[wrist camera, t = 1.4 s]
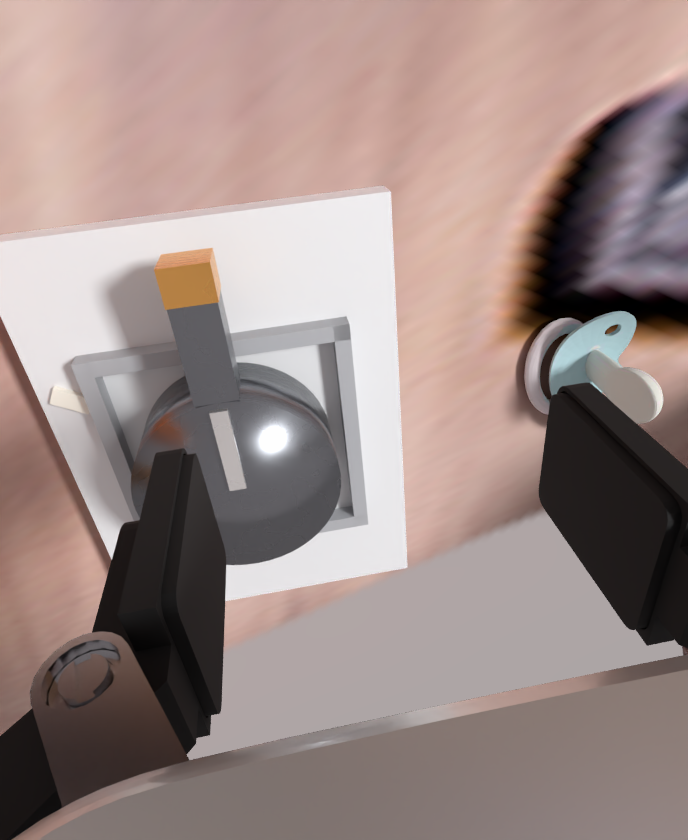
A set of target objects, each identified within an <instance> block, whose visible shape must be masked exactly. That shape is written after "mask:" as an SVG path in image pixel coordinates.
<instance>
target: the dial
mask: <svg viewBox="0 0 688 840" xmlns="http://www.w3.org/2000/svg"><path fill="white" fill-rule="evenodd" d="M154 272H155V276H156V279H157V283H158V286H159V290H160V294H161V297H162V301H163V304H164V308H165V310H167V313H168V316H169V320H170V323H171V327H172V330H173V334H174V337H175V341H176V344H177V348H178V352H179V355H180V359H181V362H182V366H183V369H184V373H185V376H183V377H182V378H180V379H179V380H177V381H176V382H174V383H173V384H172V385H171V386H169V387H168V388H167V389H166V390H165V391H164V392H163V393H162V394H161V396H160V397H159V398H158V399H157V400H156V402H155V404H154V405H153V407H152V409H151V411H150V413H149V415H148V418H147V421H146V424H145V428H144V431H143V435H142V438H141V442H140V445H139V449H138V452H137V456H136V459H135V462H134V466H133V470H132V475H131V495H132V500H133V504H134V507H135V510H136V512H137V514H138V516H139V518H140V516H141V512H142V507H143V503H144V499H145V495H146V490H147V486H148V482H149V478H150V473H151V469H152V465H153V460H154V456H155V454H156V453H157V452H163V451H169V450H175V449H181V448H184V449H185V450H186V451H187V454H194V453H195V454H196V455H197V457H198V459H199V463H200V466H201V470H202V473H203V476H204V480H205V483H206V487H207V490H208V493H209V497H210V500H211V503H212V507H213V510H214V514H215V517H216V520H217V524H218V527H219V531H220V534H221V537H222V541H223V544H224V548H225V553H226V565H247V564H255V563H260V562H265V561H269V560H272V559H275V558H278V557H281V556H284V555H286V554H288V553H290V552H293V551H294V550H296V549H298V548H300V547H301V546H303V545H304V544H306V543H307V542H308V541H310V540H311V539H312V538H313V537H315V536H316V535H317V534H318V533H319V532H320V531H321V530H322V528H323V527H324V526H325V525H326V524H327V522H328V521H329V519H330V518H331V516H332V515H333V513H334V510H335V508H336V506H337V503H338V500H339V496H340V490H341V473H340V468H339V463H338V459H337V455H336V451H335V447H334V442H333V438H332V434H331V430H330V426H329V422H328V419H327V416H326V413H325V411H324V409H323V407H322V406H321V404H320V402H319V401H318V399H317V398H316V397H315V396H314V394H313V393H312V392H311V391H310V390H309V389H308V388H307V387H306V386H305V385H303V384H302V383H301V382H299V381H298V380H297V379H295V378H293V377H292V376H290V375H288V374H286V373H284V372H282V371H279V370H277V369H274V368H272V367H268V366H264V365H260V364H254V363H244V362H237V361H236V357H235V352H234V348H233V343H232V339H231V334H230V330H229V325H228V321H227V316H226V312H225V307H224V303H223V298H222V294H221V283H220V279H219V274H218V269H217V265H216V260H215V256H214V251H213V248H206V249H198V250H191V251H183V252H176V253H168V254H161V255H160V258H159V260H158V262H157V264H156V266H155V268H154Z"/></svg>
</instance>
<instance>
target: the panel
mask: <svg viewBox="0 0 688 840" xmlns="http://www.w3.org/2000/svg"><path fill="white" fill-rule="evenodd" d="M206 248H213V251H214V256H215V260H216V265H217V269H218V274H219V279H220V283H221V294H222V298H223V303H224V307H225V312H226V316H227V321H228V325H229V330H230V334H231V339H232V343H233V348H234V352H235V357H236V361H237V362H244V363H254V364H260V365H264V366H268V367H272V368H274V369H277V370H279V371H282V372H284V373H286V374H288V375H290V376H292V377H293V378H295V379H297V380H298V381H299V382H301V383H302V384H303V385H305V386H306V387H307V388H308V389H309V390H310V391H311V392H312V393H313V394H314V396H315V397H316V398H317V399H318V401H319V402H320V404H321V406H322V407H323V409H324V411H325V413H326V416H327V419H328V422H329V426H330V430H331V434H332V438H333V442H334V447H335V451H336V455H337V459H338V463H339V468H340V473H341V490H340V496H339V500H338V503H337V506H336V508H335V510H334V513H333V515H332V516H331V518H330V519H329V521H328V522H327V524H326V525H325V526H324V527H323V528H322V530H321V531H320V532H319V533H318V534H317V535H316V536H315V537H313V538H312V539H311V540H310V541H308V542H307V543H306V544H304V545H303V546H301V547H300V548H298V549H296V550H294V551H293V552H290V553H288V554H286V555H284V556H281V557H278V558H275V559H272V560H269V561H265V562H260V563H255V564H247V565H226V589H225V601H229V600H234V599H240V598H245V597H251V596H256V595H262V594H267V593H273V592H278V591H283V590H289V589H294V588H300V587H305V586H311V585H316V584H322V583H327V582H332V581H338V580H343V579H349V578H354V577H360V576H365V575H370V574H376V573H381V572H387V571H392V570H398V569H403V568H407V546H406V523H405V501H404V478H403V456H402V433H401V411H400V388H399V365H398V343H397V320H396V298H395V275H394V253H393V230H392V207H391V191H390V190H388V189H387V188H386V187H385V186H383V185H382V186H374V187H366V188H359V189H351V190H343V191H335V192H327V193H320V194H312V195H304V196H296V197H289V198H281V199H273V200H265V201H257V202H250V203H242V204H234V205H226V206H219V207H211V208H203V209H195V210H187V211H180V212H172V213H164V214H156V215H148V216H141V217H133V218H125V219H117V220H110V221H102V222H94V223H86V224H78V225H71V226H63V227H55V228H47V229H40V230H32V231H24V232H16V233H8V234H1V235H0V316H1V319H2V321H3V323H4V325H5V327H6V329H7V332H8V334H9V336H10V338H11V340H12V343H13V345H14V347H15V349H16V351H17V354H18V356H19V358H20V360H21V362H22V365H23V367H24V369H25V371H26V373H27V375H28V378H29V380H30V382H31V384H32V386H33V389H34V391H35V393H36V395H37V397H38V400H39V402H40V404H41V406H42V408H43V411H44V413H45V415H46V417H47V419H48V421H49V424H50V426H51V428H52V430H53V432H54V435H55V437H56V439H57V441H58V443H59V446H60V448H61V450H62V452H63V454H64V457H65V459H66V461H67V463H68V465H69V467H70V470H71V472H72V474H73V476H74V478H75V481H76V483H77V485H78V487H79V489H80V492H81V494H82V496H83V498H84V500H85V503H86V505H87V507H88V509H89V511H90V513H91V516H92V518H93V520H94V522H95V524H96V527H97V529H98V531H99V533H100V535H101V538H102V540H103V542H104V544H105V546H106V549H107V551H108V553H109V555H110V557H111V559H112V557H113V554H114V550H115V546H116V543H117V539H118V535H119V532H120V529H121V527H122V525H123V524H124V523H126V522H132V521H137V520H140V518H139V516H138V514H137V512H136V510H135V507H134V504H133V500H132V495H131V475H132V470H133V466H134V462H135V459H136V456H137V452H138V449H139V445H140V442H141V438H142V435H143V431H144V428H145V424H146V421H147V418H148V415H149V413H150V411H151V409H152V407H153V405H154V404H155V402H156V400H157V399H158V398H159V397H160V396H161V394H162V393H163V392H164V391H165V390H166V389H167V388H168V387H169V386H171V385H172V384H173V383H174V382H176V381H177V380H179V379H180V378H182V377H183V376H185V373H184V369H183V366H182V362H181V359H180V355H179V352H178V348H177V344H176V341H175V337H174V334H173V330H172V327H171V323H170V320H169V316H168V313H167V310H165V308H164V304H163V301H162V297H161V294H160V290H159V286H158V283H157V279H156V276H155V272H154V268H155V266H156V264H157V262H158V260H159V258H160V255H161V254H168V253H176V252H183V251H191V250H198V249H206Z"/></svg>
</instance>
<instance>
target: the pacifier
mask: <svg viewBox="0 0 688 840" xmlns="http://www.w3.org/2000/svg"><path fill="white" fill-rule="evenodd" d="M615 324H618V328H617V329H616V330H615V331H614V332H612V333H610V334H605V331H606V330H607V329H608V328H609V327H610V326H612V325H615ZM635 328H636V319H635V317H634V316H633V315H631V314H630V313H628V312H624V311H618V312H611V313H608V314H604V315H601V316H599V317H596V318H594V319H592V320H590V321H588V322H586V323H584V324H582V323H581V322H580V321H578V320H576V319H573V318H560V319H558V320H555V321H553V322H551V323H549V324H548V325H547V326H546V327H545V328H543V329H542V330H541V331H540V333H539V334H538V335H537V337H536V338H535V339H534V341H533V343H532V345H531V348H530V350H529V352H528V355H527V359H526V363H525V373H524V379H525V387H526V392H527V394H528V397H529V400H530V401H531V403H532V404H533V406H534V407H535V408H536V409H537V410H539V411H540V412H542V413H544V414H547V415H548V413H549V405H550V399H548V398H546V397H545V395H544V394H543V391H542V388H541V384H540V368H541V364H542V360H543V357H544V355H545V353H546V351H547V349H548V348H549V346H550V345H551V344H552V342H553V341H555V340H556V339H557V338H558V337H560V336H562V335H564V334H569V335H568V336H567V337H566V338H565V339H564V340H563V341H562V342H561V344H560V345H559V347H558V348H557V350H556V352H555V354H554V356H553V359H552V362H551V365H550V370H549V386H550V391H551V395H554V394H557V392H558V390H559V388H560V387H562V386H567V385H573V384H579V383H585V382H587V383H591V384H592V385H593V386H594V387H596V388H597V389H598V390H599V391H600V392H601V393H602V392H603V393H604V394H606V396H607V398H608V399H609V400H610V401H611V402H613V403H614V404H615V405H616V406H617V407H618V408H619V409H620V410H622V411H623V412H624V413H625V414H626V415H627V416H628V417H629V418H631V419H632V420H633V421H634V422H635V423H638V424H643V423H647V422H649V421H651V420H653V419H654V418H655V417H656V416H657V415H658V414H659V413H660V411H661V409H662V406H663V393H662V390H661V388H660V386H659V384H658V383H657V381H656V380H655V379H654V378H653V377H652V376H650V375H649V374H648V373H646V372H644V371H642V370H639V369H636V368H630V367H622V366H621V365H620V364H619V363H618V358H619V356H620V354H621V353H622V352H623V351H624V350H625V348H626V347H627V345H628V344H629V342H630V340H631V339H632V337H633V334H634V332H635Z"/></svg>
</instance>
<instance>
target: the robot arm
mask: <svg viewBox="0 0 688 840" xmlns="http://www.w3.org/2000/svg"><path fill="white" fill-rule="evenodd" d="M539 498H540V501H541V504H542V506H543V508H544V509H545V511H546V512H547V514H548V515H549V516H550V518H551V519H552V521H553V522H554V524H555V525H556V526H557V528H558V529H559V531H560V532H561V534H562V535H563V537H564V538H565V539H566V541H567V542H568V544H569V545H570V546H571V548H572V549H573V551H574V552H575V554H576V555H577V557H578V558H579V560H580V561H581V562H582V564H583V565H584V567H585V568H586V570H587V571H588V573H589V574H590V575H591V577H592V578H593V580H594V581H595V583H596V584H597V586H598V587H599V588H600V590H601V591H602V593H603V594H604V595H605V597H606V598H607V600H608V601H609V602H610V604H611V606H612V607H613V609H614V610H615V611H616V613H617V614H618V616H619V617H620V619H621V620H622V621H623V623H624V624H625V625H626V627H628V628H629V629H631V630H635V629H636V631H637V632H638V633H639V635H640V636H641V638H642V639H643V641H644V642H645V643H646V645H652V644H657V643H662V642H667V641H672V640H674V639H675V640H676V642H677V643H678V644H679V645H681V646H682V648H683V656H678V657H673V658H669V659H664V660H658V661H653V662H649V663H643V664H638V665H634V666H629V667H624V668H619V669H614V670H609V671H604V672H600V673H594V674H589V675H585V676H580V677H575V678H570V679H565V680H560V681H555V682H550V683H545V684H541V685H536V686H531V687H527V688H521V689H516V690H512V691H507V692H502V693H497V694H493V695H488V696H483V697H478V698H473V699H468V700H464V701H459V702H454V703H449V704H444V705H440V706H435V707H430V708H425V709H421V710H416V711H411V712H406V713H402V714H397V715H392V716H388V717H383V718H379V719H374V720H369V721H364V722H360V723H355V724H350V725H345V726H341V727H337V728H331V729H327V730H322V731H317V732H313V733H308V734H304V735H299V736H294V737H289V738H285V739H280V740H276V741H272V742H267V743H263V744H259V745H255V746H250V747H246V748H241V749H237V750H233V751H228V752H224V753H220V754H215V755H211V756H207V757H202V758H198V759H194V760H189V759H188V757H187V755H186V754H187V753H188V752H189V751H190V750H191V749H192V748H193V746H194V745H195V744H196V738H198V737H203V736H208V735H210V724H211V715H214V714H219V713H220V711H221V702H222V674H223V646H224V618H225V589H226V553H225V548H224V544H223V541H222V537H221V534H220V531H219V527H218V524H217V520H216V517H215V514H214V510H213V507H212V503H211V500H210V497H209V493H208V490H207V487H206V483H205V480H204V476H203V473H202V470H201V466H200V463H199V459H198V457H197V455H196V454H195V453H194V454H187V451H186V450H185V449H184V448H181V449H175V450H169V451H163V452H157V453H156V454H155V456H154V460H153V465H152V469H151V473H150V478H149V482H148V486H147V490H146V495H145V499H144V503H143V507H142V512H141V516H140V520H137V521H132V522H126V523H124V524H123V525H122V527H121V529H120V532H119V535H118V539H117V543H116V546H115V550H114V554H113V557H112V561H111V565H110V568H109V572H108V576H107V579H106V583H105V587H104V590H103V594H102V598H101V601H100V605H99V609H98V612H97V616H96V620H95V623H94V627H93V631H92V633H89V634H84V635H82V636H80V637H77V638H75V639H73V640H71V641H69V642H67V643H66V644H64V645H63V646H62V647H60V648H59V649H57V650H56V651H55V652H54V653H53V654H52V655H51V656H50V657H49V658H48V659H47V660H46V661H45V662H44V663H43V664H42V666H41V667H40V669H39V671H38V672H37V674H36V675H35V677H34V680H33V683H32V686H31V690H30V699H31V706H32V709H31V710H30V711H29V712H28V713H27V714H25V715H24V716H23V717H22V718H21V719H20V720H19V721H17V722H16V723H15V724H14V725H13V726H12V727H10V728H9V729H8V730H7V731H6V732H5V733H3V734H2V735H1V736H0V840H688V469H687V468H686V467H685V466H684V465H683V464H681V463H680V462H679V461H678V460H677V459H676V458H675V457H674V456H672V455H671V454H670V453H669V452H668V451H667V450H666V449H665V448H663V447H662V446H661V445H660V444H659V443H658V442H657V441H655V440H654V439H653V438H652V437H651V436H650V435H649V434H648V433H646V432H645V431H644V430H643V429H642V428H641V427H640V426H639V425H637V424H636V423H635V422H634V421H633V420H632V419H631V418H629V417H628V416H627V415H626V414H625V413H624V412H623V411H622V410H620V409H619V408H618V407H617V406H616V405H615V404H614V403H613V402H611V401H610V400H609V399H608V398H607V397H606V396H605V395H604V394H602V393H601V392H600V391H599V390H598V389H597V388H596V387H594V386H593V385H592V384H591V383H587V382H585V383H579V384H573V385H567V386H562V387H560V388H559V390H558V392H557V394H554V395H552V397H551V399H550V405H549V413H548V421H547V429H546V437H545V445H544V453H543V460H542V468H541V476H540V484H539Z"/></svg>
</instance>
